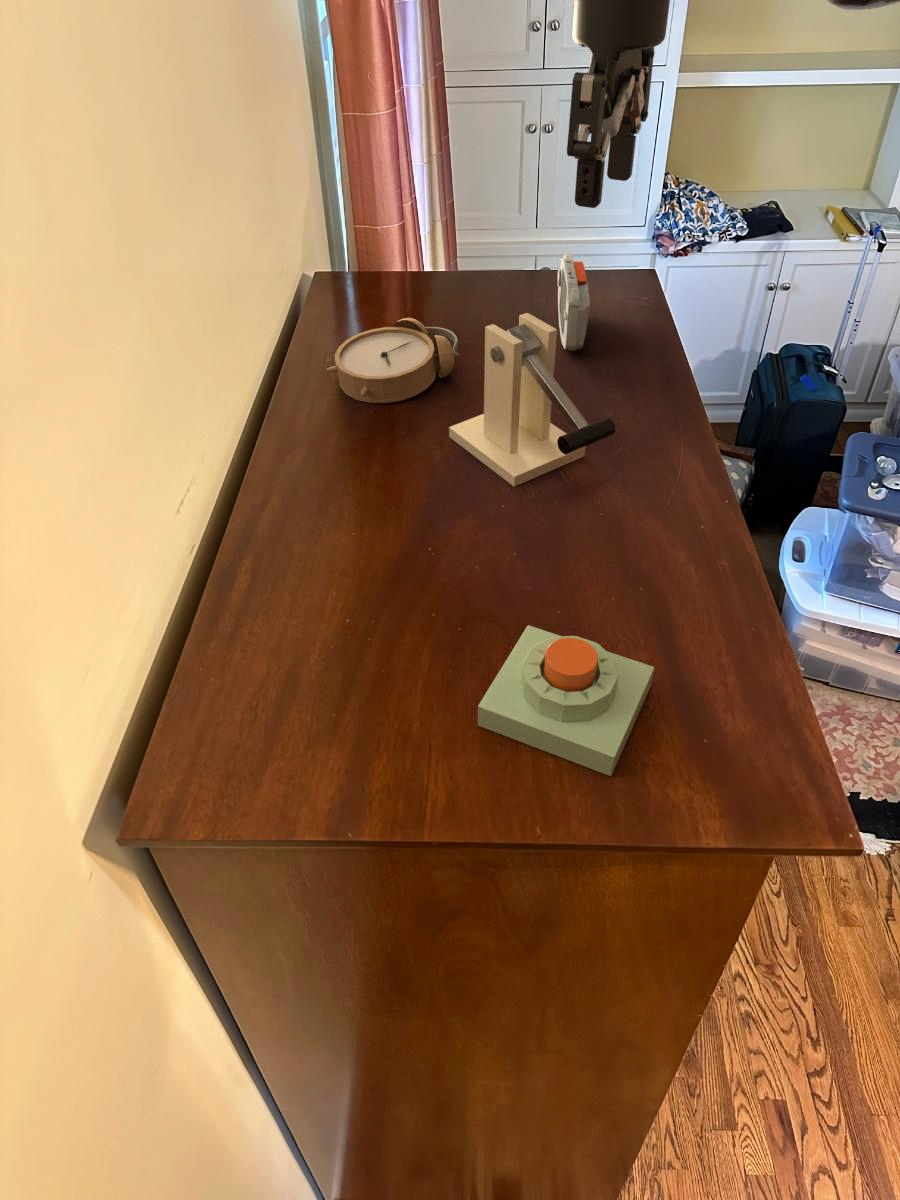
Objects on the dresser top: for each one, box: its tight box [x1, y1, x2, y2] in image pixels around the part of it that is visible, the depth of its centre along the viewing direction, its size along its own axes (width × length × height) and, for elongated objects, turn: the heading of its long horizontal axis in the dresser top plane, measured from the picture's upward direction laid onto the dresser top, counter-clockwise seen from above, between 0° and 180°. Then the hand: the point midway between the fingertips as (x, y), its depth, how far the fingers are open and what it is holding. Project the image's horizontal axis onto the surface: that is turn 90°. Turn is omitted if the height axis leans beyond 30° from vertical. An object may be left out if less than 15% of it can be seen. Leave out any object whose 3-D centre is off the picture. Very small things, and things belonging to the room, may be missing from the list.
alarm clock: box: [326, 317, 460, 404], centre depth 98 cm, size 11×5×15 cm
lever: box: [505, 324, 616, 454], centre depth 79 cm, size 13×6×2 cm, turn 35°
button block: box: [477, 624, 655, 777], centre depth 61 cm, size 10×9×4 cm
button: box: [544, 638, 598, 692], centre depth 60 cm, size 4×4×2 cm
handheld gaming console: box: [557, 254, 591, 352], centre depth 104 cm, size 14×3×8 cm, turn 178°
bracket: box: [448, 312, 587, 487], centre depth 84 cm, size 11×9×13 cm
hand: (603, 191), depth 78 cm, fingers open, 8 cm apart
